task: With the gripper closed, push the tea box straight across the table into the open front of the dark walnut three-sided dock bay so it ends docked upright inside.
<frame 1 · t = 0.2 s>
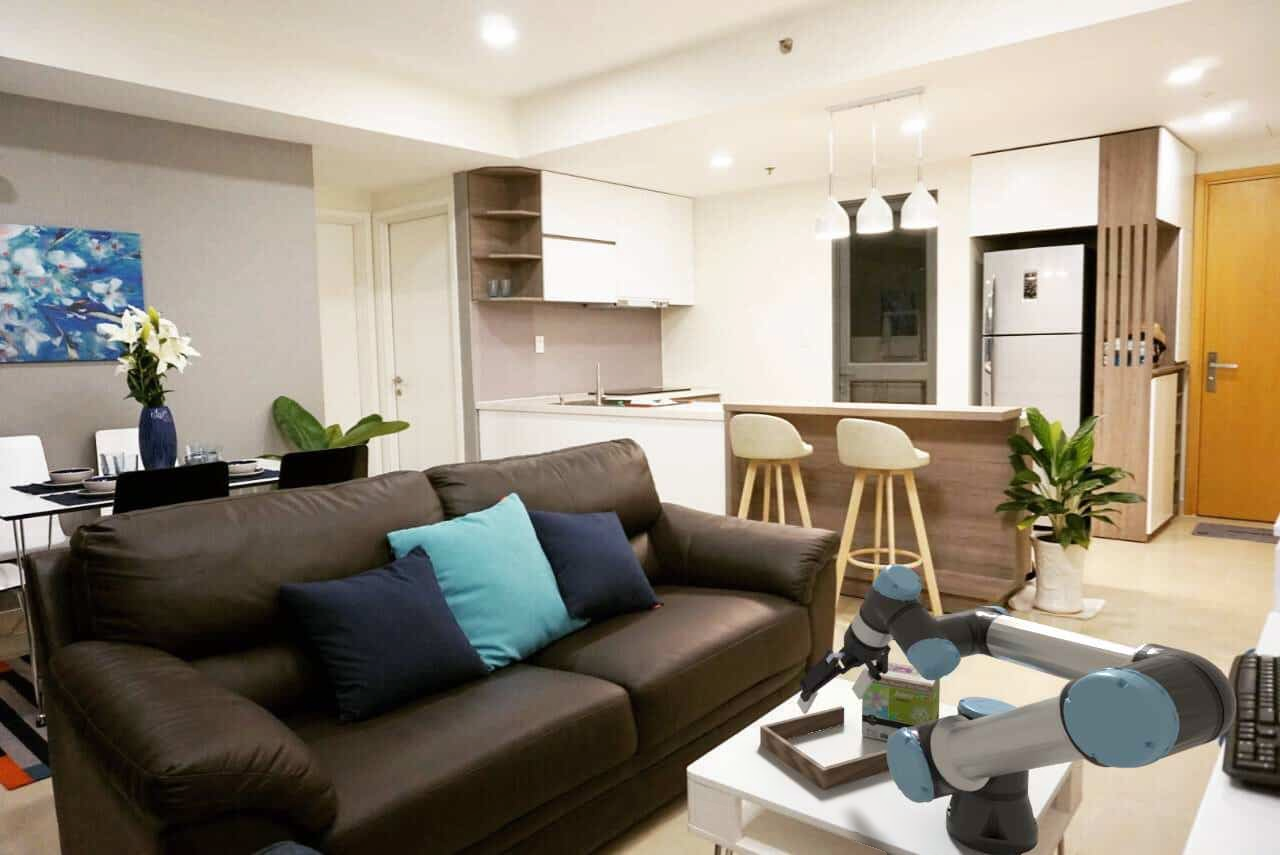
hand: (829, 700, 171), 16 cm above the table, tool tilted 35°, fingers open, 13 cm apart
dock bay: (833, 753, 182), on the table
tea box: (900, 736, 190), on the table
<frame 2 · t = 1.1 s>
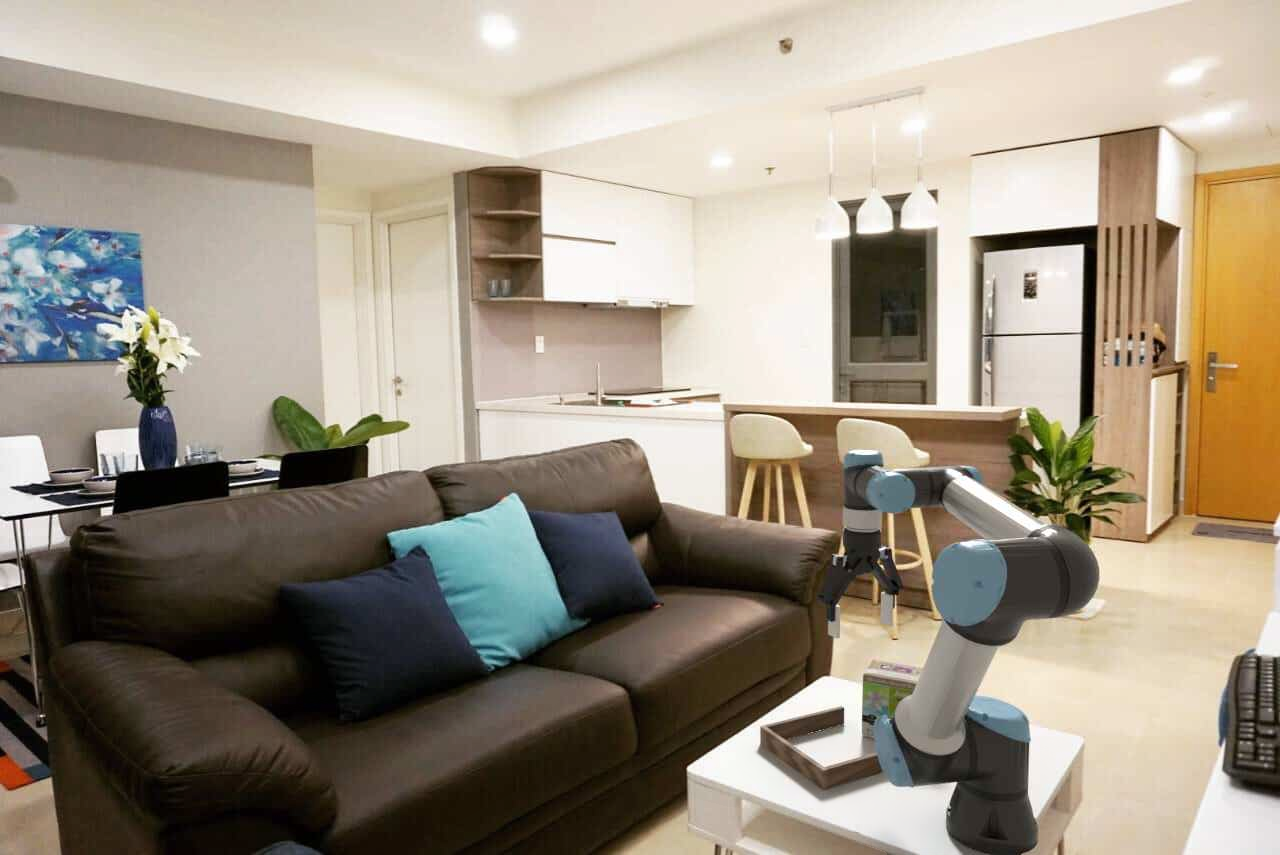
hand: (860, 630, 174), 29 cm above the table, tool pointing down, fingers open, 13 cm apart
nothing on the table moved.
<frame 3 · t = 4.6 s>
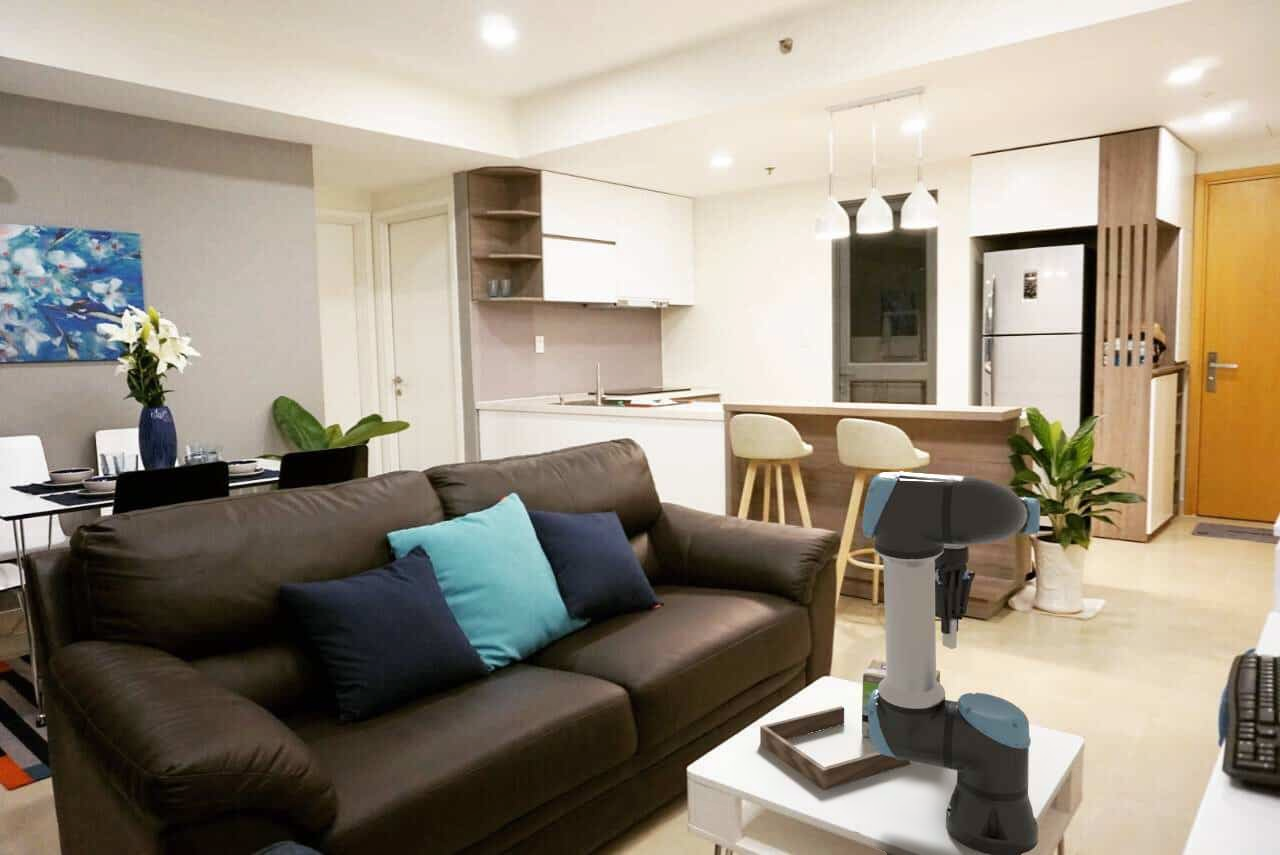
hand: (949, 646, 195), 18 cm above the table, tool pointing down, fingers closed
nothing on the table moved.
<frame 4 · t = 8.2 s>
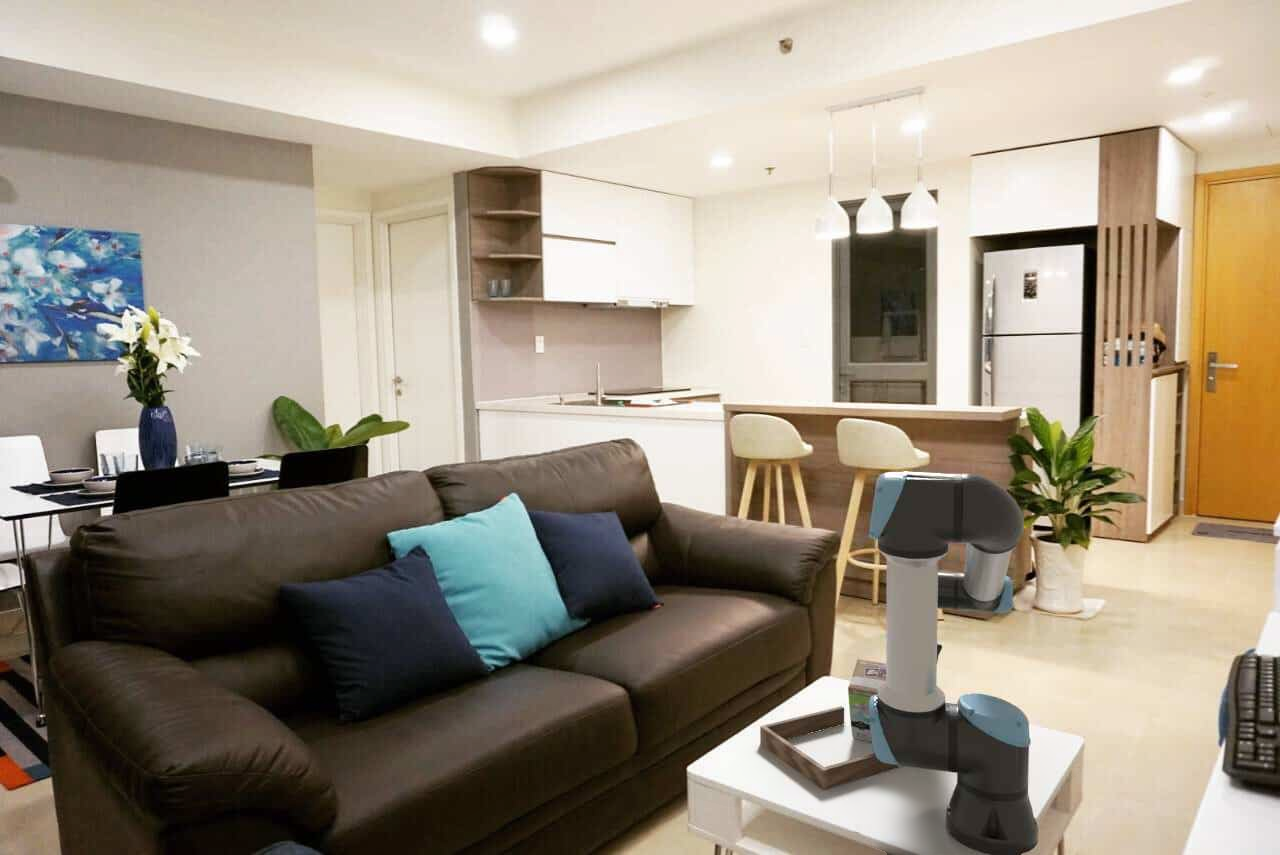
hand: (916, 719, 192), 2 cm above the table, tool pointing down, fingers closed
tea box: (890, 731, 189), point 1 cm above the table, touching gripper, hand
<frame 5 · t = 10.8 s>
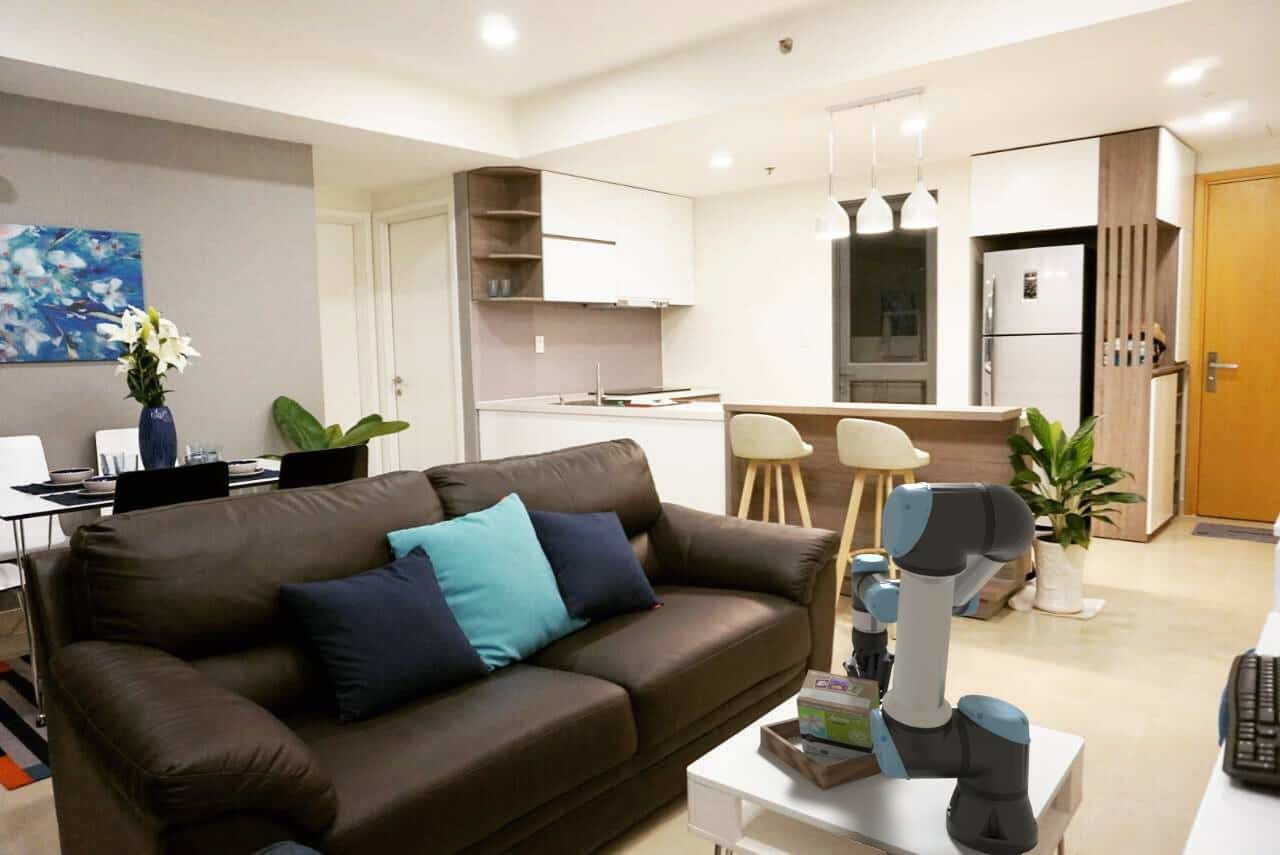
hand: (869, 731, 187), 2 cm above the table, tool pointing down, fingers closed
tea box: (842, 743, 184), point 1 cm above the table, touching gripper, hand
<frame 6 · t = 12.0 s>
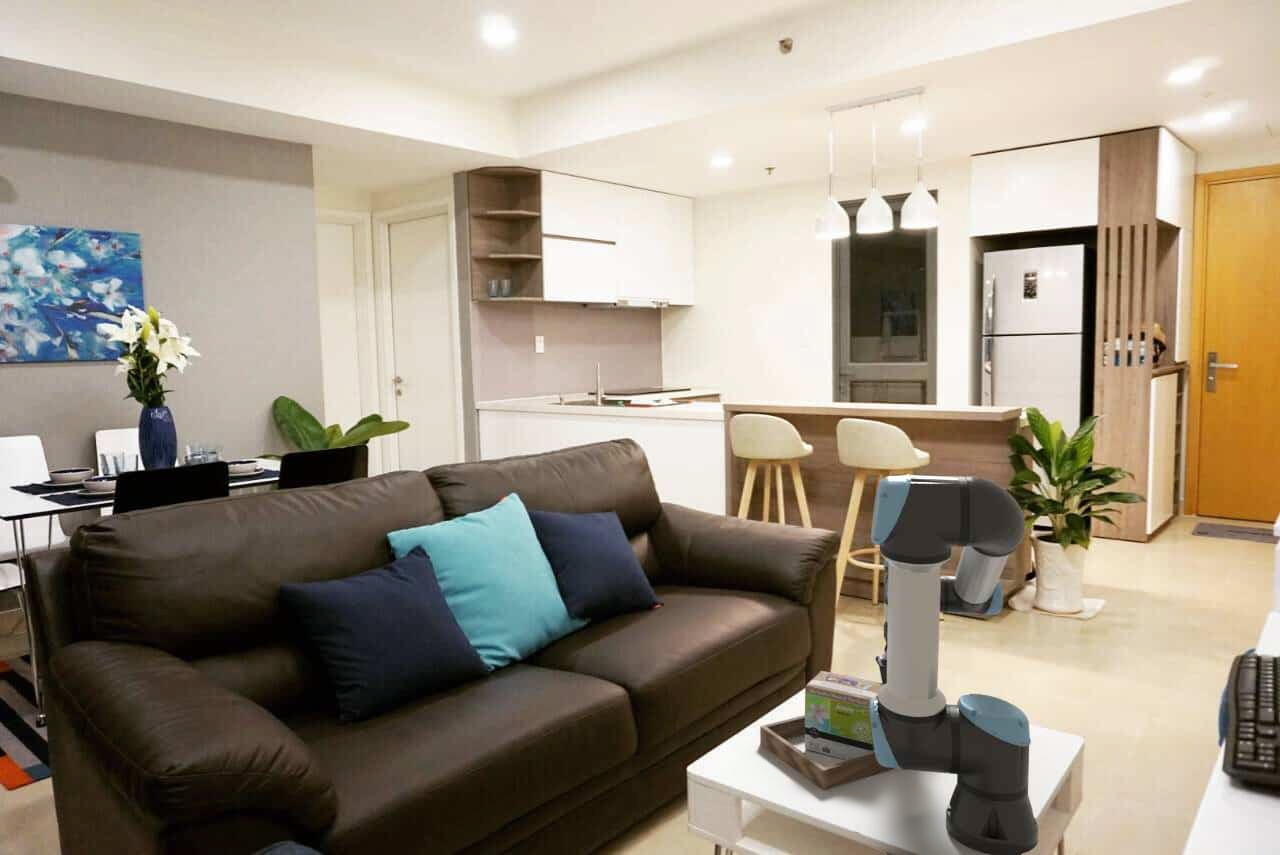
hand: (900, 725, 190), 2 cm above the table, tool pointing down, fingers closed
tea box: (845, 751, 184), on the table
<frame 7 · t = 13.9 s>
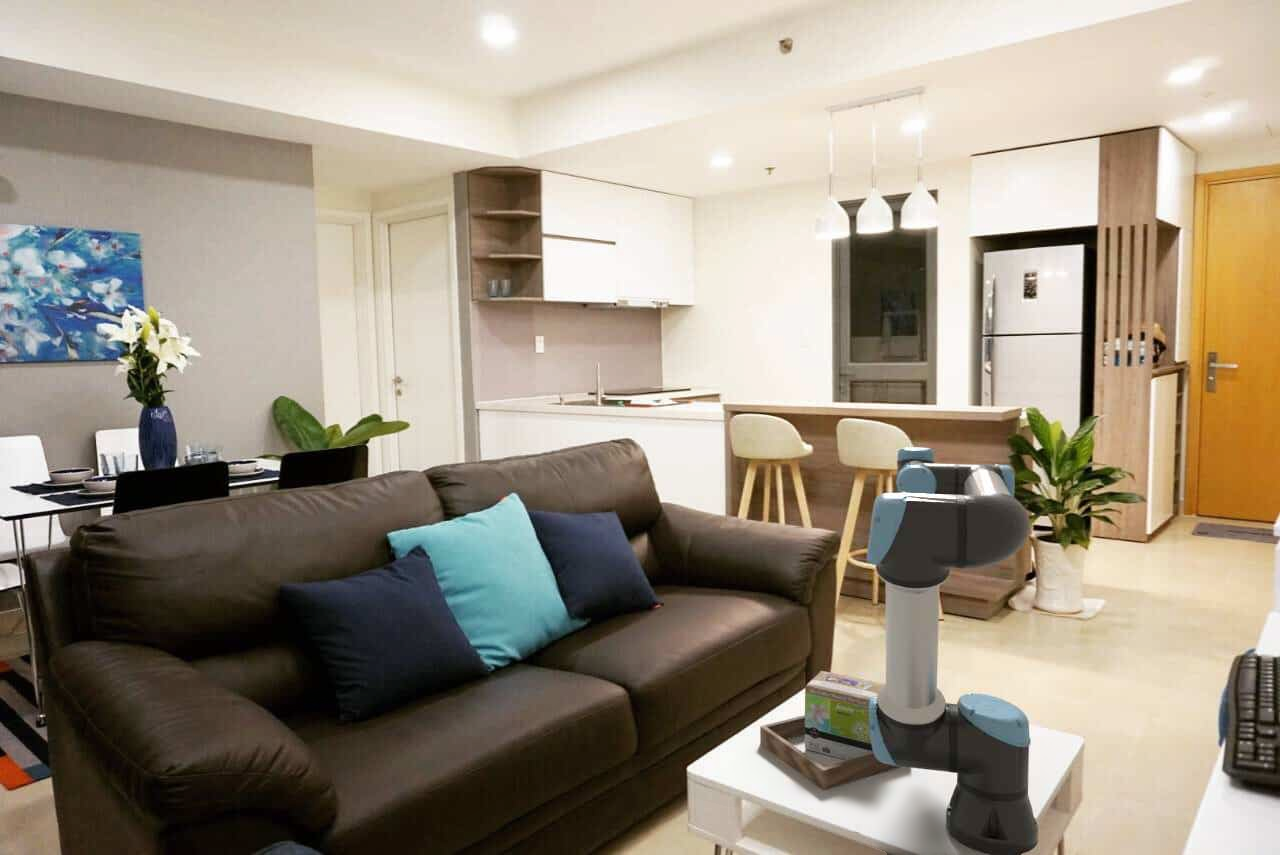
hand: (913, 625, 187), 25 cm above the table, tool pointing down, fingers closed
nothing on the table moved.
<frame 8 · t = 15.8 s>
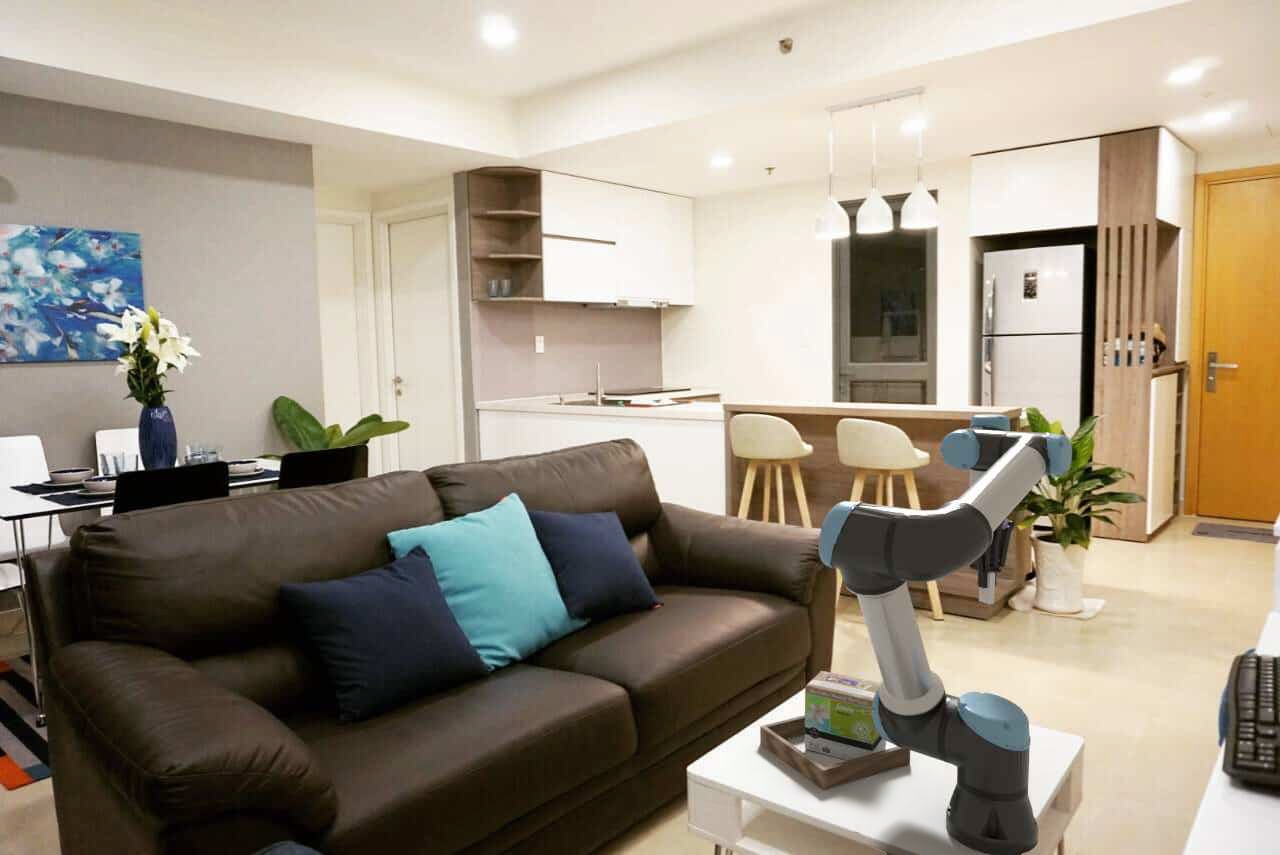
hand: (986, 602, 179), 32 cm above the table, tool pointing down, fingers closed
nothing on the table moved.
at the end: tea box inside the target area on the dock bay (3.0 cm from its centre), point 0.0 cm above the dock bay's base; tea box tilted 0°; tea box moved 15.0 cm from its start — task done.
